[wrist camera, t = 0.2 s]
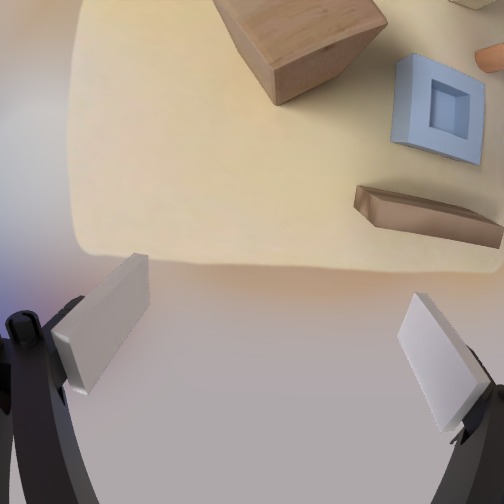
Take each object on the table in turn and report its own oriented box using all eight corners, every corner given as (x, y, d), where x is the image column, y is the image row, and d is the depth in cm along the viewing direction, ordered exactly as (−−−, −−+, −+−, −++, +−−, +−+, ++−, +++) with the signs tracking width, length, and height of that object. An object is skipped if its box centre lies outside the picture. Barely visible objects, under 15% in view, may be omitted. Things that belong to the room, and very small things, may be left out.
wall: (356, 185, 38) (380, 199, 28) (467, 209, 37) (504, 227, 28) (353, 206, 39) (375, 226, 30) (463, 227, 38) (498, 249, 29)
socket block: (395, 63, 31) (412, 52, 25) (462, 87, 30) (484, 83, 24) (390, 141, 35) (407, 142, 29) (457, 160, 34) (479, 165, 29)
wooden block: (339, 75, 32) (392, 23, 14) (275, 107, 35) (273, 72, 16) (300, 19, 30) (314, -64, 11) (236, 50, 32) (200, -21, 14)
